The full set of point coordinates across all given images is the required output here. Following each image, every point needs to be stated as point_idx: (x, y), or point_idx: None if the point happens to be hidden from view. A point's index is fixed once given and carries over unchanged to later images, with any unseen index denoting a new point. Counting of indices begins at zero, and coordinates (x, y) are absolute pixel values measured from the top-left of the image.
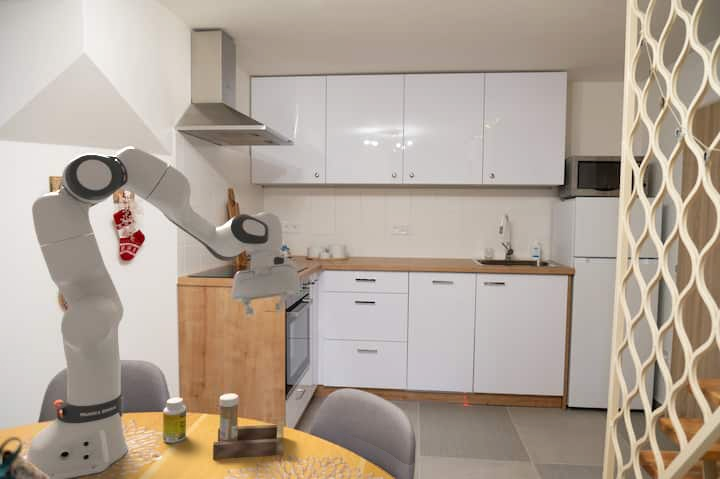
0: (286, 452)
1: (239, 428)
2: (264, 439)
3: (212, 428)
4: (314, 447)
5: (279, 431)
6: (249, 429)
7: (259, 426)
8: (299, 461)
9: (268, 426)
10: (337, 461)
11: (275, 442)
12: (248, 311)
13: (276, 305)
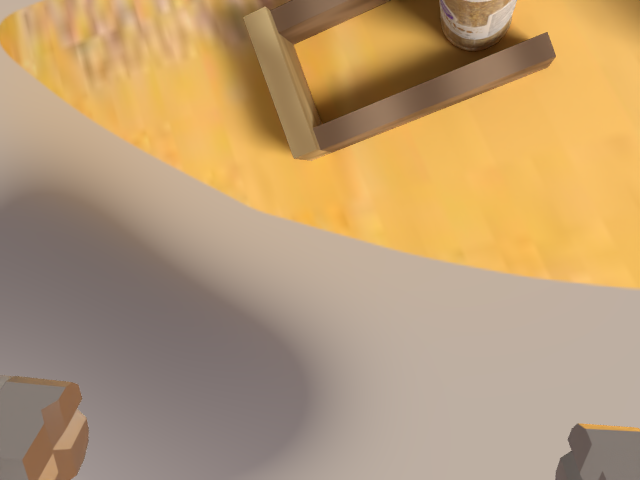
0: None
1: (460, 72)
2: (320, 12)
3: (631, 162)
4: (186, 117)
5: (274, 59)
6: (418, 85)
7: (385, 114)
8: (202, 12)
9: (349, 123)
10: (95, 49)
11: (275, 9)
12: (619, 446)
13: (21, 427)
